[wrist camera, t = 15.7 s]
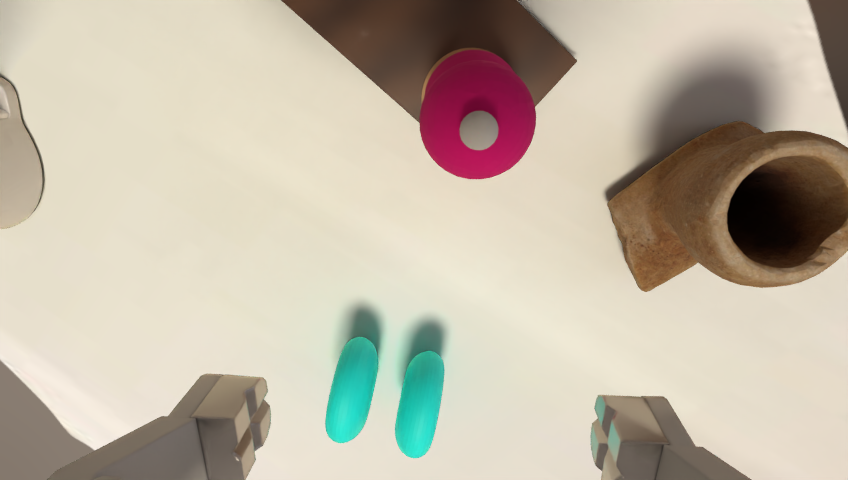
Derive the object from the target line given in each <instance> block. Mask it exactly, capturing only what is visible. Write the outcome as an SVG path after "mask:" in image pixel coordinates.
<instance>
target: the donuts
mask: <svg viewBox="0 0 848 480" xmlns="http://www.w3.org/2000/svg"><path fill="white" fill-rule="evenodd" d="M377 371H378V355H377V351H376V349H375V347H374V345H373V344H372V343H371V341H369V340H368V339H366V338H364V337H356V338H353V339H351V340H350V341H348V343H347V344H346V345H345V347H344V349H343V351H342V353H341V356H340V358H339V361H338V364H337V368H336V371H335V375H334V378H333V382H332V386H331V391H330V395H329V401H328V405H327V412H326V422H325V425H326V432H327V434H328V436H329V437H330V438H331V439H332V440H333V441H335V442H338V443H345V442H348V441H350V440H352V439H353V438H355V437H356V436H357V435H358V434H359V433H360V431H361V430H362V428H363V427H364V424H365V422H366V420H367V416H368V413H369V409H370V405H371V400H372V396H373V391H374V387H375V382H376V376H377ZM443 381H444V363H443V360H442V358H441V357H440V356H439V355H438V354H437V353H435V352H432V351H425V352H422V353H420V354H418V355H417V356H416V357H415V358H414V359H413V360H412V361H411V362H410V364H409V366H408V368H407V370H406V374H405V378H404V383H403V388H402V393H401V398H400V403H399V408H398V413H397V418H396V424H395V436H396V440H397V444H398V446H399V448H400V450H401V451H402V452H403V453H404V454H405V455H406V456H408V457H411V458H419V457H421V456H423V455H425V454H426V453H427V451H428V450H429V448H430V446H431V443H432V440H433V437H434V433H435V429H436V424H437V420H438V414H439V409H440V403H441V396H442V390H443Z"/></svg>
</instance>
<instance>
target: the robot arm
mask: <svg viewBox="0 0 848 480" xmlns="http://www.w3.org/2000/svg"><path fill="white" fill-rule="evenodd" d="M42 182H43V179H42V169H41V164H40V160H39V156H38V153H37V151H36V148H35V146H34V144H33V142H32V140H31V138H30V136H29V134H28V132H27V131H26V129H25V127H24V125H23V122H22V120H21V116H20V109H19V103H18V99H17V95H16V92H15V90H14V88H13V86H12V85H11V84H10V83H9V82H8V81H6V80H5V79H3V78H1V77H0V229H5V228H10V227H13V226H15V225H18V224H20V223H21V222H23V221H24V220H26V219H27V218H28V217H29V216H30V215H31V214H32V213H33V211H34V210H35V208H36V206H37V204H38V202H39V200H40V196H41V192H42ZM267 392H268V389H267V383H266V380H265V379H264V378H263V377H250V376H237V375H221V374H204V375H202V376H200V378H199V379H198V380H197V381H196V382H195V384H194V385H193V386H192V387H191V389H190V390H189V391H188V392H187V393H186V395H185V396H184V397H183V398H182V400H181V401H180V402H179V403H178V404H177V406H176V407H175V408H174V409H173V411H172V412H171V413H170V414H169V415H168V417H166V416H161V417H159V418H157V419H155V420H153V421H151V422H150V423H148V424H146V425H144V426H142V427H140V428H138V429H136V430H134V431H132V432H130V433H128V434H126V435H124V436H122V437H120V438H119V439H117V440H115V441H113V442H111V443H109V444H107V445H105V446H103V447H101V448H99V449H97V450H95V451H93V452H91V453H89V454H88V455H86V456H84V457H82V458H80V459H78V460H76V461H74V462H72V463H70V464H68V465H66V466H65V467H62V468H60V469H58V470H57V471H55V472H54V473H53V474H52V475H51V476H50V477H49V478H48V479H47V480H246V478H247V476H248V474H249V472H250V470H251V468H252V466H253V464H254V462H255V460H256V458H255V451H256V450H257V449H258V448H260V447H261V446H263V444H264V442H265V440H266V438H267V436H268V432H269V428H270V424H271V411H270V406H269V405H268V403H267V402H266V401H265V400H264V398H265V396H266V394H267ZM595 411H596V414H597V417H598V419H597V420H596V421H594V422H593V423H592V428H591V450H592V455H593V459H594V462H595V465H596V466H597V467H598V468H599V469H600V470H601V471H602V476H601V480H751V479H750V478H748V477H747V476H745V475H744V474H742V473H741V472H739V471H738V470H736V469H735V468H733V467H732V466H730V465H729V464H727V463H726V462H724V461H723V460H721V459H720V458H718V457H717V456H715V455H714V454H712V453H711V452H709V451H708V450H706V449H705V448H703V447H696V446H695V444H694V443H693V441H692V439H691V438H690V436H689V435H688V433H687V431H686V430H685V428H684V426H683V425H682V423H681V421H680V420H679V418H678V416H677V415H676V413H675V412H674V410H673V408H672V407H671V405H670V403H669V402H668V400H667V399H666V398H664V397H661V396H641V397H636V396H615V395H598V397H597V399H596V403H595Z"/></svg>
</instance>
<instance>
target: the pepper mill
mask: <svg viewBox="0 0 848 480" xmlns="http://www.w3.org/2000/svg"><path fill="white" fill-rule="evenodd" d="M419 119H420V133H421V137H422V141H423V143H424V145H425V148H426V150H427V151H428V153H429V154H430V156H431V157H432V159H433V160H434V161H435V162H436V163H437V164H438V165H439V166H440V167H442V168H443V169H444V170H446V171H447V172H449V173H451V174H453V175H456V176H458V177H463V178H467V179H484V178H490V177H493V176H496V175H499V174H501V173H503V172H505V171H507V170H509V169H510V168H511V167H513V166H514V165H515V164H516V163H517V162H518V161H519V160H520V159H521V158H522V156H523V155H524V154H525V152H526V151H527V149H528V147H529V145H530V143H531V141H532V138H533V135H534V130H535V125H536V112H535V105H534V102H533V99H532V96H531V93H530V92H529V90H528V88H527V86H526V85H525V83H524V82H523V81H522V79H521V78H520V77H519V76H518V75H517V74H515V72H514V71H513V70H512V68H511V67H510V65H509V64H508V63H506V62H505V61H504V60H503V59H502V58H500V57H499V56H497V55H495V54H493V53H491V52H488V51H483V50H465V51H461V52H458V53H455V54H453V55H451V56H449V57H448V58H446V59H445V60H444V61H442V62H441V63H440V64H439V65H438V66H437V67H436V69H435V70H434V71H433V73H432V75H431V76H430V78H429V80H428V83H427V86H426V90H425V95H424V99H423V102H422V106H421V110H420V117H419Z"/></svg>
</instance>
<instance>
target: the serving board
mask: <svg viewBox="0 0 848 480" xmlns="http://www.w3.org/2000/svg"><path fill="white" fill-rule="evenodd" d="M281 1H282V2H284V3H285V4H286V5H287V6H288V7H289V8H290V9H292V10H293V11H294V12H295V13H296V14H297V15H298V16H299V17H301V18H302V19H303V20H304V21H305V22H306V23H307V24H309V25H310V26H311V27H312V28H313V29H314V30H315V31H316V32H318V33H319V34H320V35H321V36H322V37H323V38H324V39H325V40H327V41H328V42H329V43H330V44H331V45H332V46H333V47H335V48H336V49H337V50H338V51H339V52H340V53H341V54H342V55H344V56H345V57H346V58H347V59H348V60H349V61H350V62H352V63H353V64H354V65H355V66H356V67H357V68H358V69H359V70H361V71H362V72H363V73H364V74H365V75H366V76H367V77H368V78H370V79H371V80H372V81H373V82H374V83H375V84H376V85H378V86H379V87H380V88H381V89H382V90H383V91H384V92H385V93H387V94H388V95H389V96H390V97H391V98H392V99H393V100H395V101H396V102H397V103H398V104H399V105H400V106H401V107H402V108H404V109H405V110H406V111H407V112H408V113H409V114H410V115H411V116H413V117H414V118H415V119H416V120H417V121H418V122H419V123H420V119H419V117H420V110H421V106H422V102H423V99H424V95H425V90H426V86H427V83H428V80H429V78H430V76H431V75H432V73H433V71H434V70H435V69H436V67H437V66H438V65H439V64H440V63H441V62H442V61H444V60H445V59H446V58H448V57H449V56H451V55H453V54H455V53H458V52H461V51H465V50H483V51H488V52H491V53H493V54H495V55H497V56H499V57H500V58H502V59H503V60H504V61H505V62H506V63H508V64H509V65H510V67H511V68H512V70H513V71H514V72H515V74H517V75H518V76H519V77H520V78H521V79H522V81H523V82H524V83H525V85H526V86H527V88H528V90H529V92H530V93H531V96H532V99H533V102H534V105H535V106H536V105H537V104H538V103H539V102H540V101H541V100H542V99H543V98H544V97H545V96H546V94H547V93H548V92H549V91H550V90H551V89H552V88H553V87H554V86H555V85H556V84H557V83H558V81H559V80H560V79H561V78H562V77H563V76H564V75H565V74H566V73H567V72H568V71H569V70H570V69H571V67H572V66H573V65H574V64H575V63H576V62H577V60H576V59H575V58H574V57H573V56H572V55H571V54H570V53H569V52H568V51H567V50H566V49H565V48H564V47H563V46H562V45H561V44H560V43H559V42H558V41H557V40H556V39H555V38H554V37H553V36H552V35H551V34H550V33H549V32H548V31H547V30H546V29H545V28H544V27H543V26H542V25H541V24H539V23H538V22H537V21H536V20H535V19H534V18H533V17H532V16H531V15H530V14H529V13H528V12H527V11H526V10H525V9H524V8H523V7H522V6H521V5H520V4H519V3H518V2H517V1H516V0H281Z"/></svg>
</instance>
